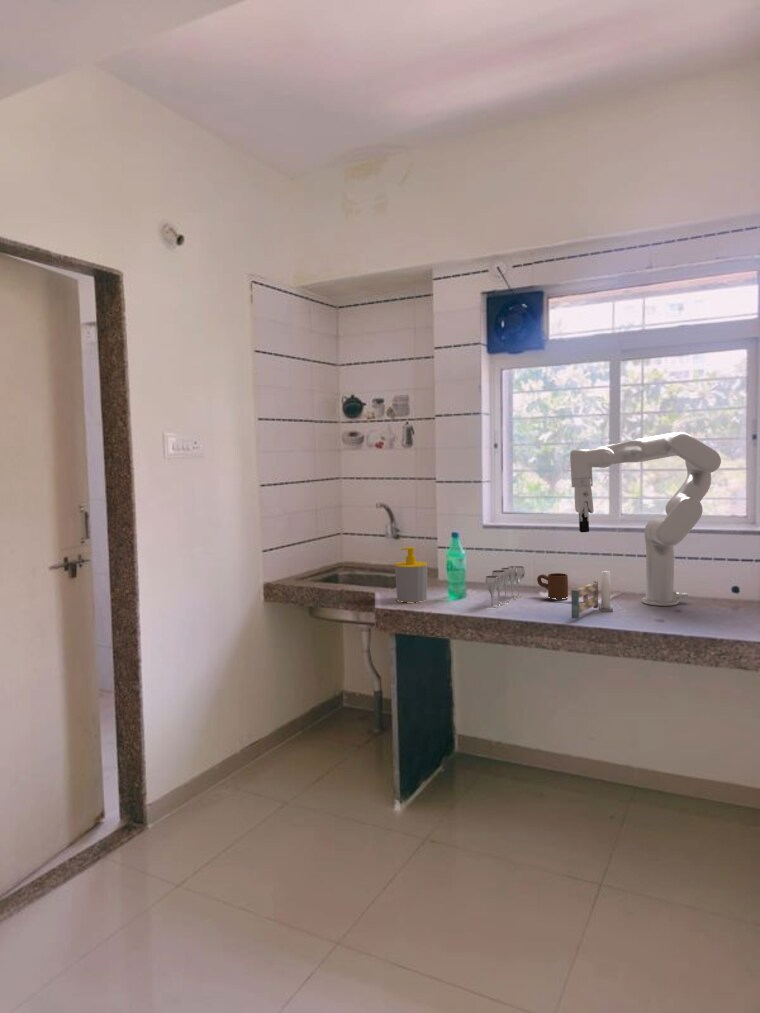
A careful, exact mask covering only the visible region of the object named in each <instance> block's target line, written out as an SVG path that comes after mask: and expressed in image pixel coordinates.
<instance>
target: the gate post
mask: <svg viewBox="0 0 760 1013" xmlns="http://www.w3.org/2000/svg"><path fill="white" fill-rule="evenodd" d="M600 574H601V575H600V580H601V581H600V582H601V583H600V584H601V585H600V586H601V587H600V592H601V593H600V594H601V598H600V599H601V600H600V602H601V605H598V610H599V609H600V610H599V612H601V613H613V612H614V609H613V607H612V606H611V571H609V570H601V572H600Z"/></svg>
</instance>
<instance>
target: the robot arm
mask: <svg viewBox="0 0 760 1013" xmlns="http://www.w3.org/2000/svg"><path fill="white" fill-rule="evenodd" d="M569 456H570V458H569V460H570V479H571V488H574V507H575V508H574V510H575V512H576V513H577V514H578V526H579V527H578V528H579V529H578V530H579V533H589V532H590V521H589V516H590V515H589V513H590V514H593V513H594V510H595V509H594V500H593V492H592V487H593V486H594V485H593V484H594V482H593V468H599V469H605V468H609V467H611V466H612V465H618V464H623V463H642V462H647V461H648V462H649V461H653V460H659V459H665V458H669V457H670V458H671V457H679V458H680V459H682V460H684V462H685V463H684V464H685V467H686V470H687V471H686V472H687V474H686V478H685V480H684V482H683V483H682V484H681V486H680V487H679V489H677V491H676V492H675V493H674V495H673V496H671V498H670V499H669V500H668V501H667V503H666V505H665V513H666V515H667V516H666V517H665V518H664V517H655V518H652V519H651V520H649V521H648V522H647V523H646V525H645V527H644V530H643V531H644V542H645V552H646V553H645V554H646V555H645V556H646V557H645V558H646V559H645V564H646V566H645V572H646V574H645V576H646V577H645V578H646V579H645V585H646V586H645V590H646V591H645V596H644V597H641V602H642V603H644V604H646V605H650V606H659V607H667V606H670V607H671V606H677V605H678V604H679V599H688V598H689V595H688V592H681V591H680V592H678V591H676V590H675V580H674V579H675V577H674V576H675V573H674V572H675V553H674V547H675V546H677V545H679V544H680V543H681V542H682V541H683V540H684V539H685V537H687V535H688V534H689V533H690V532H691V530H692V529H693V528H694V527H696V524H697V523H698V522H699V520H700V519H701V518H702V516H703V515H702V514H703V505H702V503H701V501H702V500H703V498H704V497H705V496H706V495H707V493H708V491H709V490H710V488H711V484H712V473H714V472H716V471H717V470H718V469H719V468H720V466H721V463H722V458H721V456H720V454H719V453H718V452H717V451H716V450H715V449H713V448H712V447H710V446H708V445H707V444H705V443H704V442H702V441H700V440H698V439H697V438H695V437H694V436H692V435H690V434H689V433H686V432H683V431H679V432H669V433H665V434H658V435H652V436H647V437H642V438H636V439H632V440H628V441H624V442H619V443H614V444H607V445H602V446H597V447H593V448H592V449H589V448H588V449H587V448H579V449H573V450H571V451H570V453H569Z"/></svg>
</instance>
